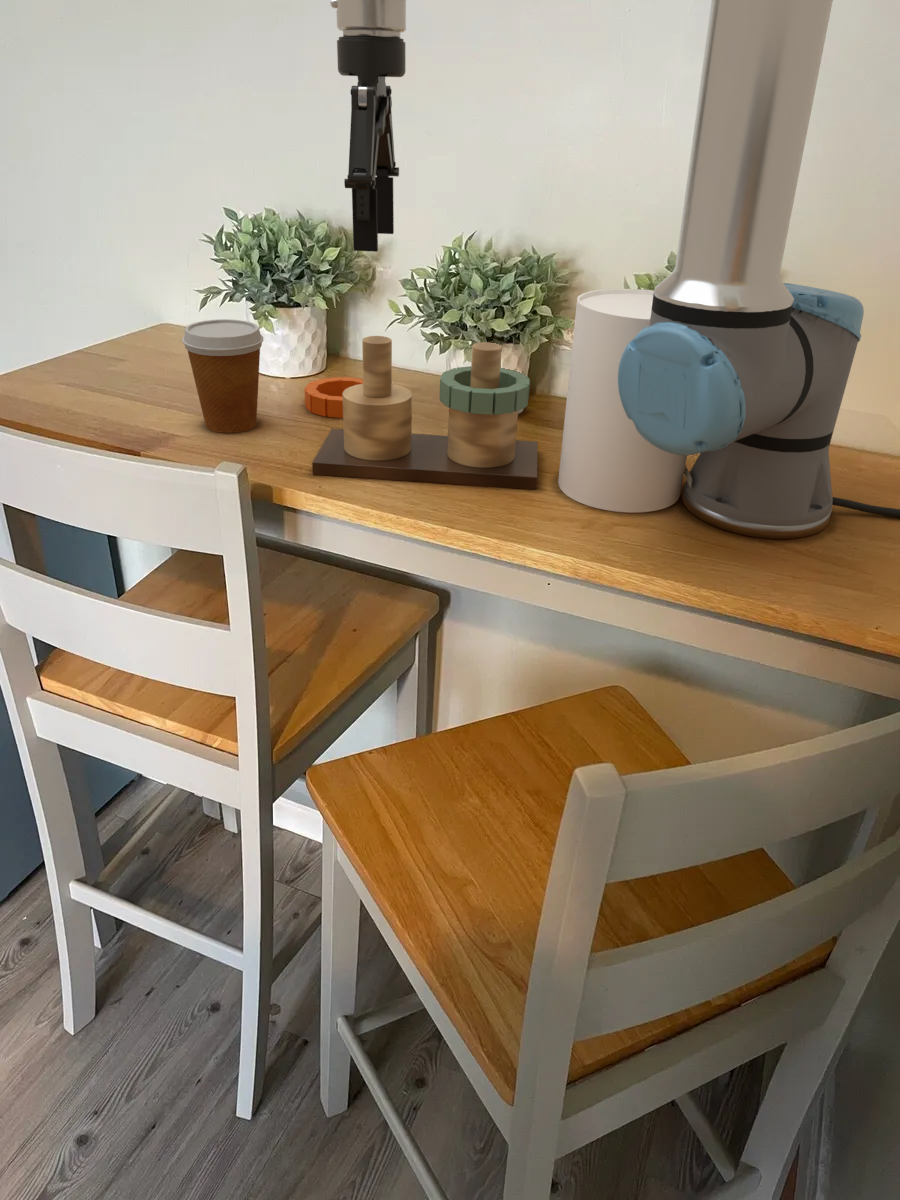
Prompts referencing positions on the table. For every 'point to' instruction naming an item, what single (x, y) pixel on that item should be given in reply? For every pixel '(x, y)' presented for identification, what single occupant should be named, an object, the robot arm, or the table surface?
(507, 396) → the sage ring
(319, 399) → the orange ring
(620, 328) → the canister
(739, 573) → the table surface
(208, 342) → the disposable coffee cup
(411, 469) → the ring board
